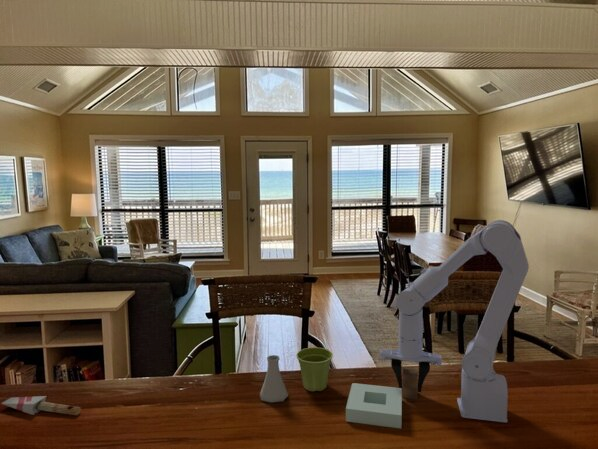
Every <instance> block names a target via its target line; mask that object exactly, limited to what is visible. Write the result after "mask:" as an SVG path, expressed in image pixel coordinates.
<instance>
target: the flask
mask: <svg viewBox="0 0 598 449" xmlns="http://www.w3.org/2000/svg"><path fill="white" fill-rule="evenodd" d="M266 360H267V370H266V374H265V378H264V382H263V384H262V387H261V390H260V392H259V398H260V400H261V401H263V402H267V403H271V404H272V403H279V402H280V403H281V402H284V401H285V399H286V400H287V398H288V396H289V393H288V391H287V389H286V386H285V384H284V380H283V378H282V374H281V371H280V370H281V369H280V365H279V361H280V356H279V355H275V354H270V355H268V356H267V357H266Z"/></svg>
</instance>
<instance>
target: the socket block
mask: <svg viewBox="0 0 598 449" xmlns="http://www.w3.org/2000/svg"><path fill="white" fill-rule="evenodd" d="M350 386H351V387H350V390H349V394H348V398H347V402H346V407H345V422H348V423H355V424H356V423H357V424H362V425H371V426H377V427H378V426H379V427H386V428H393V429H402V422H403V420H402V418H403V417H402V416H403V415H402V414H403V413H402V412H403V410H402V406H403V403H402V402H403V387H402V388H399V387H393V386H386V385H385V386H383V385H374V384H365V383H357V382H355V383H353V382H352V384H351V385H350Z"/></svg>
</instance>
